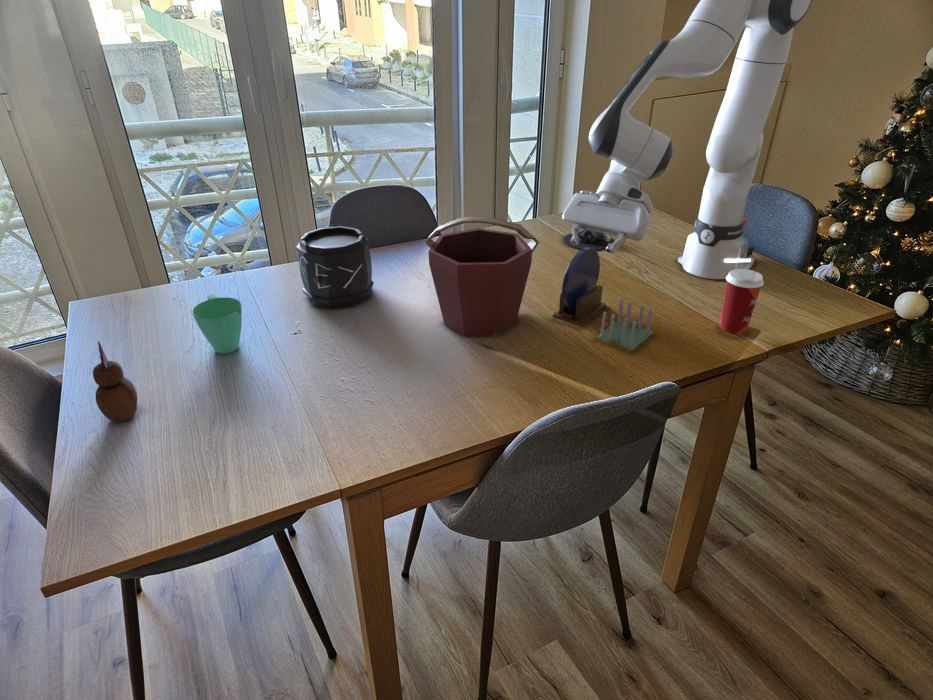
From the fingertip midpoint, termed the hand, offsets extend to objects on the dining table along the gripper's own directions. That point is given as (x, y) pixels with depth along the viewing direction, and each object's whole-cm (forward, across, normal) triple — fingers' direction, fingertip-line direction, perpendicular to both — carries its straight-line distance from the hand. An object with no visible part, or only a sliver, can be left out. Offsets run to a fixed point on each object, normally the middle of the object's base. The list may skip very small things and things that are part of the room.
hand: (591, 247), depth 140 cm
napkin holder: (+13, -1, +10) cm, 16 cm away
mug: (+56, -54, -35) cm, 86 cm away
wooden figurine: (+75, -44, -54) cm, 103 cm away
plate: (+12, -1, +9) cm, 15 cm away
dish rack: (+16, +13, +8) cm, 22 cm away
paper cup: (+4, +30, +21) cm, 37 cm away
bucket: (+26, -17, -3) cm, 31 cm away
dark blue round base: (-18, -24, +41) cm, 51 cm away
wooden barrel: (+33, -54, -12) cm, 65 cm away
